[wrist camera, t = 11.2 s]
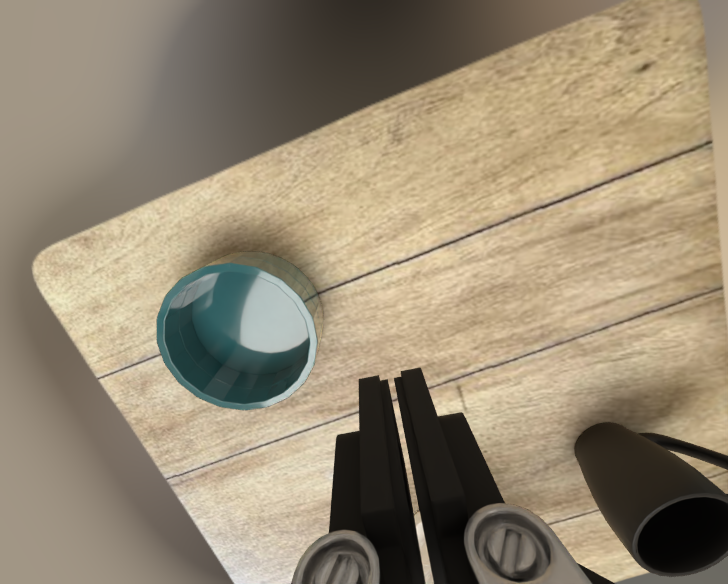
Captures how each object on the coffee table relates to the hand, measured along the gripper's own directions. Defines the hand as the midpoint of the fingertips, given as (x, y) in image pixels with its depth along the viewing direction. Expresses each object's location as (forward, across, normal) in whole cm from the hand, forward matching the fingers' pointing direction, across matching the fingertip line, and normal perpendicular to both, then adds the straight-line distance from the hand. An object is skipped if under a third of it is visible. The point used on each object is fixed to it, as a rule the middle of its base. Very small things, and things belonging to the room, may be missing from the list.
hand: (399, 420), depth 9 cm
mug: (+20, -21, +23) cm, 37 cm away
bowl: (+21, +11, +3) cm, 23 cm away
